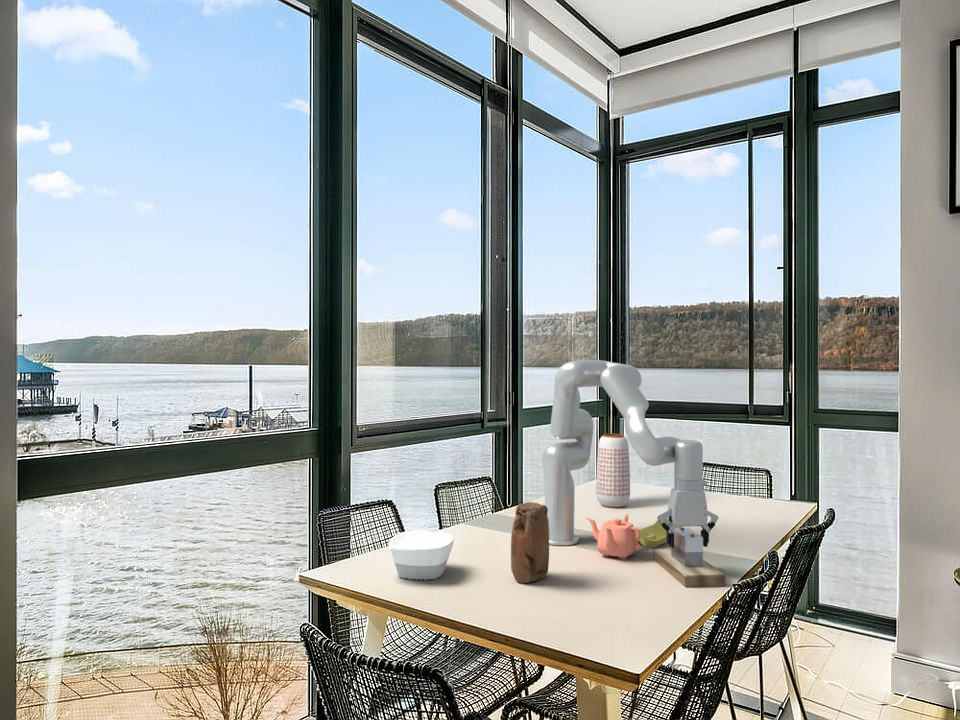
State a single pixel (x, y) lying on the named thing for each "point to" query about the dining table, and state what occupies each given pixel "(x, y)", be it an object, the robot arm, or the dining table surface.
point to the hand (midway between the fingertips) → (687, 545)
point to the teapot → (616, 538)
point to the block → (530, 542)
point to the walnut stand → (689, 571)
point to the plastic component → (653, 535)
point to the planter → (613, 471)
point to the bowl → (421, 554)
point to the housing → (687, 547)
